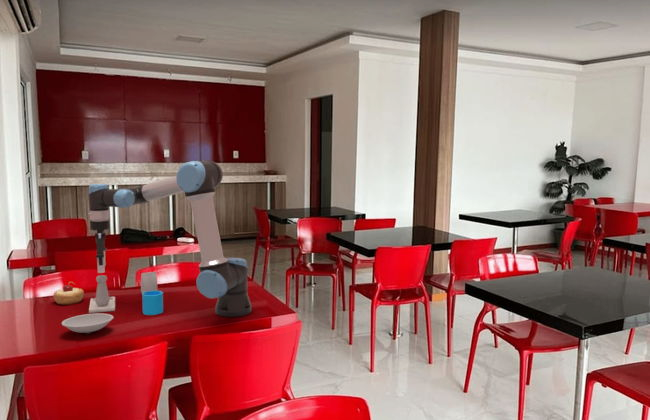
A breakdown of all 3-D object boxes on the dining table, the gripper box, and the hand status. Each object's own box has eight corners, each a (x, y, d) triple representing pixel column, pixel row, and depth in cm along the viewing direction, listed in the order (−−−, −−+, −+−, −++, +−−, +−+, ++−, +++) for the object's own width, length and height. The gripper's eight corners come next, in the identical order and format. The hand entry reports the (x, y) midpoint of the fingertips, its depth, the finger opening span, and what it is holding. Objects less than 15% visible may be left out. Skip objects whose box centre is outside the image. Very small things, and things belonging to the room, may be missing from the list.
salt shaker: (105, 302, 231) (104, 273, 230) (112, 304, 228) (111, 275, 226) (92, 305, 227) (91, 275, 225) (99, 307, 223) (98, 278, 222)
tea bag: (157, 293, 249) (157, 272, 248) (142, 295, 245) (142, 274, 244) (155, 291, 252) (155, 271, 251) (141, 293, 248) (140, 272, 247)
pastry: (48, 305, 230) (46, 285, 228) (69, 297, 241) (67, 278, 239) (69, 307, 226) (67, 287, 224) (90, 299, 237) (88, 280, 236)
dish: (110, 323, 206) (110, 311, 205) (116, 334, 194) (116, 321, 193) (60, 330, 197) (60, 317, 197) (63, 343, 185) (63, 329, 184)
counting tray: (114, 310, 221) (114, 307, 221) (88, 313, 218) (88, 309, 218) (115, 299, 237) (115, 296, 237) (90, 301, 233) (90, 298, 233)
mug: (163, 314, 218) (163, 295, 218) (142, 315, 216) (142, 296, 215) (162, 305, 230) (161, 287, 229) (142, 307, 227) (141, 289, 226)
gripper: (91, 216, 233) (93, 263, 236) (88, 224, 210) (90, 276, 212) (109, 216, 236) (111, 262, 238) (108, 223, 213) (110, 274, 215)
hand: (101, 269), depth 225 cm, fingers open, 13 cm apart
